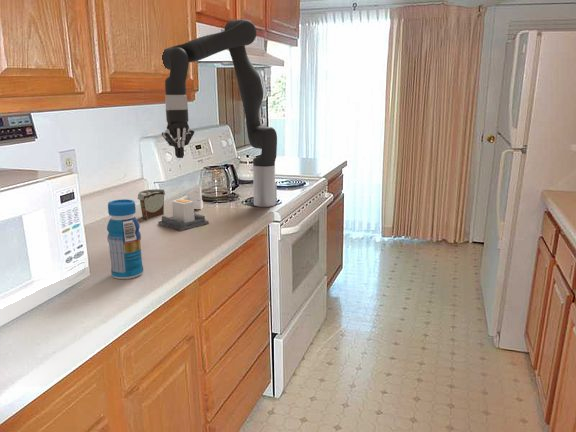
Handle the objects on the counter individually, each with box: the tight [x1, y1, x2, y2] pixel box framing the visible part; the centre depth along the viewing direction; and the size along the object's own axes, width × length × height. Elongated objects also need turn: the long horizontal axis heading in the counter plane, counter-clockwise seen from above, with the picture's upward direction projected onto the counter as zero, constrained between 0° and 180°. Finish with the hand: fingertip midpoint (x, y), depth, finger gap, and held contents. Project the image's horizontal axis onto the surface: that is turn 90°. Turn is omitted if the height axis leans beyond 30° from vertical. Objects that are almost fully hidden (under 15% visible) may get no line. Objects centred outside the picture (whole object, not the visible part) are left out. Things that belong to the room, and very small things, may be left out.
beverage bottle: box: [106, 198, 144, 280], centre depth 128 cm, size 8×8×20 cm
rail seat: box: [157, 212, 210, 232], centre depth 179 cm, size 13×13×3 cm
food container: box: [137, 188, 166, 221], centre depth 189 cm, size 12×6×10 cm, turn 152°
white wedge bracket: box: [186, 185, 204, 210], centre depth 202 cm, size 4×10×9 cm, turn 84°
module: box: [171, 198, 195, 223], centre depth 179 cm, size 4×7×7 cm, turn 49°
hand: (179, 157), depth 173 cm, fingers closed
